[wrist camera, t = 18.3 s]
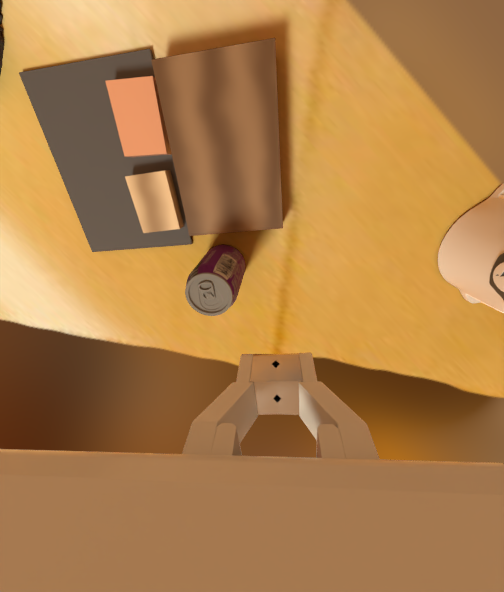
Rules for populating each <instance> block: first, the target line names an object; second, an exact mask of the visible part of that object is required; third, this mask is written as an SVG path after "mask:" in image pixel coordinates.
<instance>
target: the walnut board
mask: <svg viewBox="0 0 504 592" xmlns="http://www.w3.org/2000/svg"><path fill="white" fill-rule="evenodd" d="M151 61H152V65H153V70H154V75H155V79H156V84H157V89H158V93H159V98H160V102H161V107H162V112H163V116H164V121H165V126H166V130H167V135H168V139H169V144H170V149H171V153H172V158H173V163H174V167H175V172H176V176H177V181H178V186H179V190H180V195H181V199H182V204H183V209H184V213H185V218H186V223H187V227H188V232H189V236H194V235H206V234H218V233H230V232H242V231H254V230H267V229H279V228H283V218H282V194H281V169H280V145H279V121H278V96H277V72H276V48H275V38H272V39H266V40H260V41H255V42H249V43H243V44H238V45H232V46H226V47H221V48H215V49H209V50H204V51H198V52H193V53H187V54H181V55H176V56H170V57H164V58H159V59H153V60H151Z"/></svg>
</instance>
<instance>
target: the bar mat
mask: <svg viewBox="0 0 504 592" xmlns="http://www.w3.org/2000/svg"><path fill="white" fill-rule="evenodd" d="M151 60H153V54H152V51H151V50H150V49H146V50H140V51H135V52H129V53H124V54H118V55H113V56H107V57H102V58H96V59H91V60H85V61H80V62H75V63H69V64H64V65H58V66H53V67H47V68H42V69H36V70H31V71H25V72H20V73H19V74H20V77H21V79H22V81H23V84H24V86H25V89H26V91H27V94H28V96H29V98H30V101H31V103H32V106H33V108H34V111H35V113H36V116H37V118H38V120H39V123H40V125H41V128H42V130H43V133H44V135H45V138H46V140H47V142H48V145H49V147H50V150H51V152H52V155H53V157H54V159H55V162H56V164H57V167H58V169H59V172H60V174H61V177H62V179H63V181H64V184H65V186H66V189H67V191H68V194H69V196H70V199H71V201H72V203H73V206H74V208H75V211H76V213H77V216H78V218H79V220H80V223H81V225H82V228H83V230H84V233H85V235H86V238H87V240H88V242H89V245H90V247H91V250H92V252H98V251H111V250H124V249H136V248H149V247H162V246H175V245H187V244H192V243H193V242H192V237H191V236H189V232H188V227H187V223H186V218H185V213H184V209H183V204H182V199H181V195H180V190H179V186H178V181H177V176H176V172H175V167H174V163H173V158H172V154H171V155H157V156H142V157H125V156H124V152H123V148H122V145H121V141H120V137H119V133H118V129H117V125H116V121H115V117H114V113H113V109H112V105H111V101H110V97H109V93H108V90H107V86H106V82H105V81H107V80H117V79H127V78H137V77H147V76H153V77H154V78H155V75H154V70H153V65H152V61H151ZM165 170H170V171H171V175H172V179H173V183H174V187H175V191H176V195H177V199H178V203H179V207H180V211H181V215H182V219H183V223H184V227H182V228H181V229H175V230H166V231H158V232H149V233H143V230H142V227H141V224H140V221H139V218H138V215H137V212H136V209H135V206H134V203H133V200H132V197H131V194H130V191H129V188H128V185H127V182H126V178H125V176H132V175H138V174H145V173H152V172H158V171H165Z"/></svg>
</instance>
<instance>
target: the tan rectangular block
mask: <svg viewBox="0 0 504 592" xmlns="http://www.w3.org/2000/svg"><path fill="white" fill-rule="evenodd" d="M125 178H126V182H127V185H128V188H129V191H130V194H131V197H132V200H133V203H134V206H135V209H136V212H137V215H138V218H139V221H140V224H141V227H142V230H143V233H149V232H158V231H166V230H175V229H181V228H182V227H184V223H183V219H182V215H181V211H180V207H179V203H178V199H177V195H176V191H175V187H174V183H173V179H172V175H171V171H170V170H165V171H158V172H152V173H145V174H138V175H132V176H125Z"/></svg>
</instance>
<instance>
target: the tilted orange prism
mask: <svg viewBox="0 0 504 592" xmlns="http://www.w3.org/2000/svg"><path fill="white" fill-rule="evenodd" d="M105 82H106V86H107V90H108V93H109V97H110V101H111V105H112V109H113V113H114V117H115V121H116V125H117V129H118V133H119V137H120V141H121V145H122V148H123V152H124V156H125V157H142V156H157V155H171V154H172V153H171V149H170V144H169V139H168V135H167V130H166V126H165V121H164V116H163V112H162V107H161V102H160V98H159V93H158V89H157V84H156V79H155V78H154V77H153V76H147V77H137V78H127V79H117V80H107V81H105Z"/></svg>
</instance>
